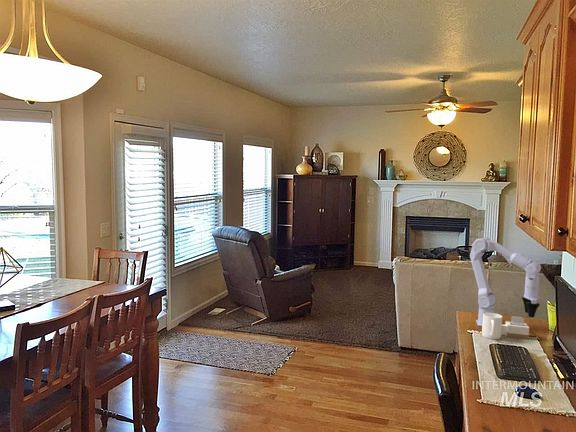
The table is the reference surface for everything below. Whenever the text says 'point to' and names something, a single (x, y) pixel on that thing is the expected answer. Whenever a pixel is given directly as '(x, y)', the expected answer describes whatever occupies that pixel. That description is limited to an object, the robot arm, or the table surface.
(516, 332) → the slotted upright plate
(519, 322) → the white upright block
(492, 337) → the mug
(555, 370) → the table surface
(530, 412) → the table surface
